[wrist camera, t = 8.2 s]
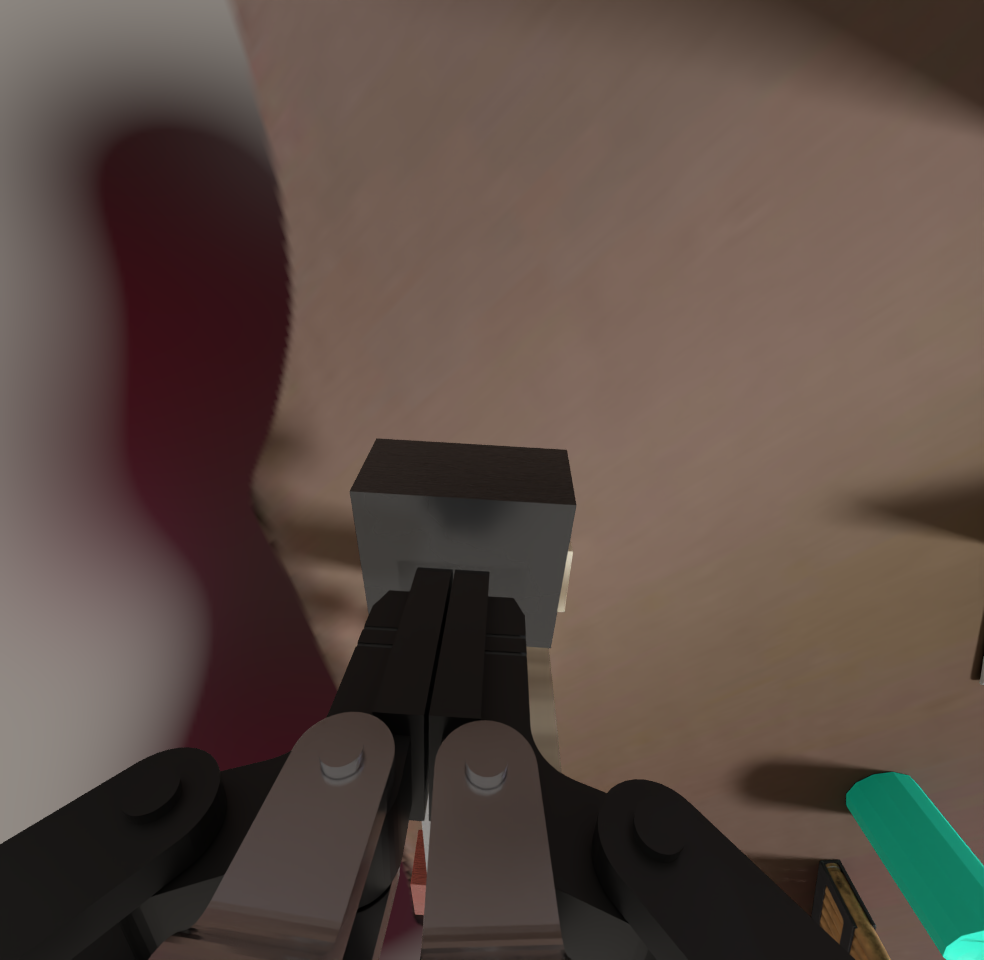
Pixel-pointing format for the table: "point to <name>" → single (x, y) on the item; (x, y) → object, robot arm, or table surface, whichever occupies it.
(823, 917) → the ammunition clip
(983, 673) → the laptop
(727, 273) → the table surface
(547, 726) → the press stand
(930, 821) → the candle
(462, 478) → the lever
